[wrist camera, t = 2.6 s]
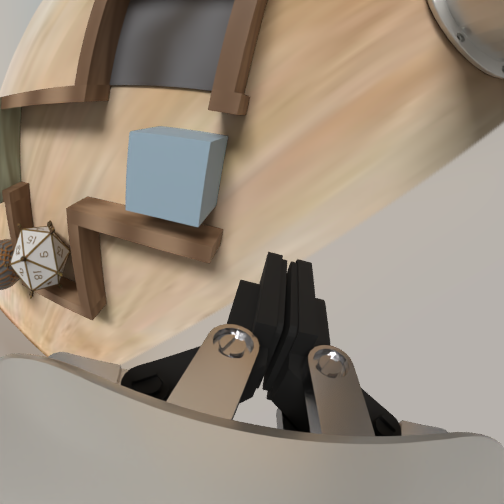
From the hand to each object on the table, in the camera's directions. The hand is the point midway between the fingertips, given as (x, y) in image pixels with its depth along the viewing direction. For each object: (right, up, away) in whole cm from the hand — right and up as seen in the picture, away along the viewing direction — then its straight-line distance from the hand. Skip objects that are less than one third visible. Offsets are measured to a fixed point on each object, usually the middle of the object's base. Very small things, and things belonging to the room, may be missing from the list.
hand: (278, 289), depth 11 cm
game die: (-25, +3, +18) cm, 31 cm away
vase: (-37, +1, +21) cm, 42 cm away
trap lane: (-16, +11, +12) cm, 23 cm away
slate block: (-6, +9, +12) cm, 16 cm away
